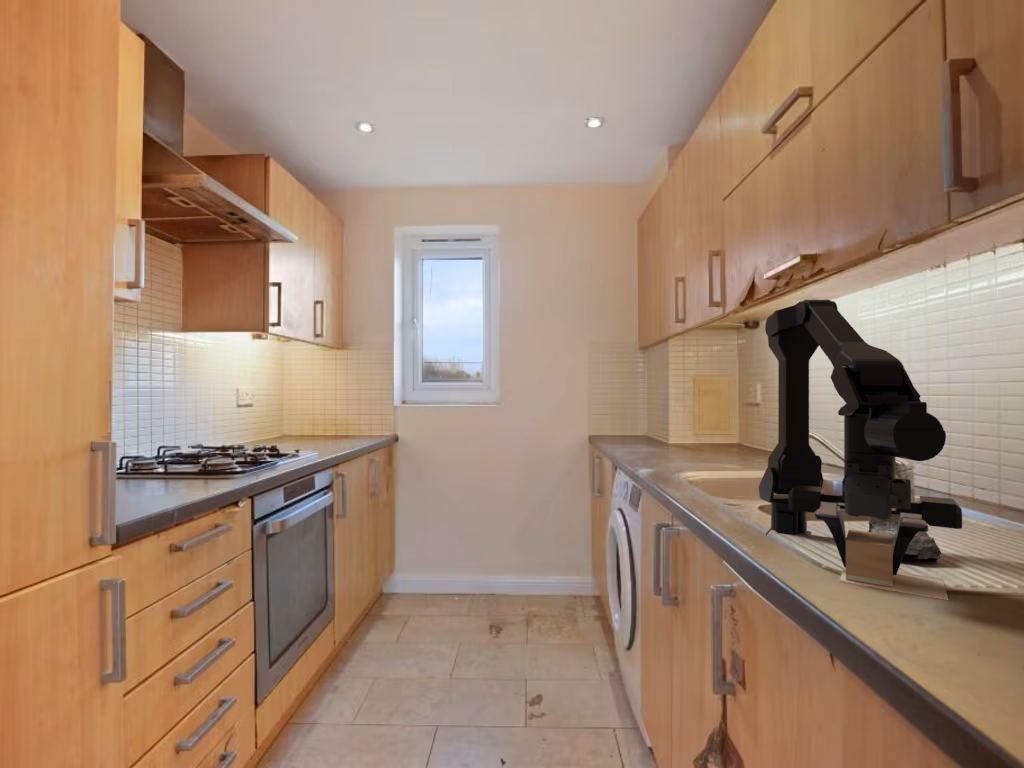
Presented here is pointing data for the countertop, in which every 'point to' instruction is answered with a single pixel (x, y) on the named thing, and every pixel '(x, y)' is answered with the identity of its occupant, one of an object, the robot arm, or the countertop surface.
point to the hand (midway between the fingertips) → (869, 570)
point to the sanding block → (869, 557)
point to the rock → (918, 545)
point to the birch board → (908, 584)
